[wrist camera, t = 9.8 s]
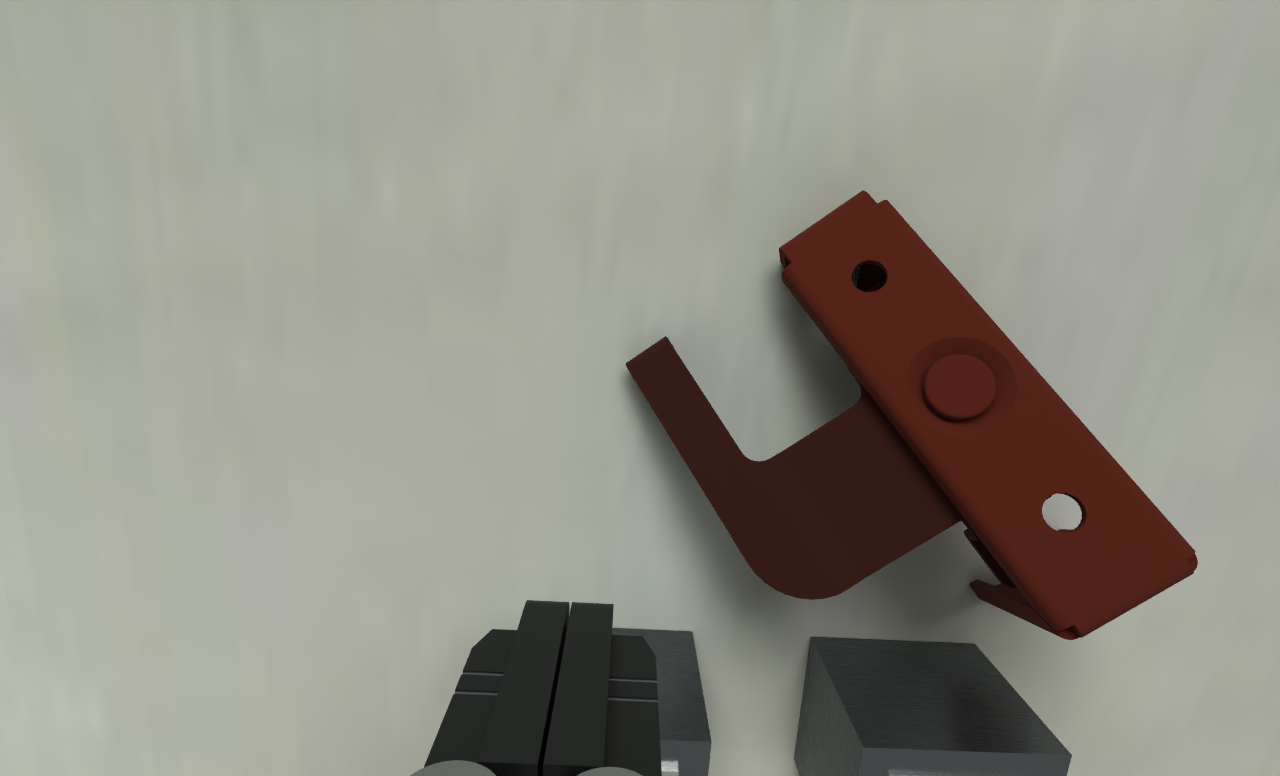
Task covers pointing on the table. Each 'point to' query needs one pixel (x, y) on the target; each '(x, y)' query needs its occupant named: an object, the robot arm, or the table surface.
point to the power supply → (678, 702)
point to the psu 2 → (916, 714)
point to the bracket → (922, 446)
